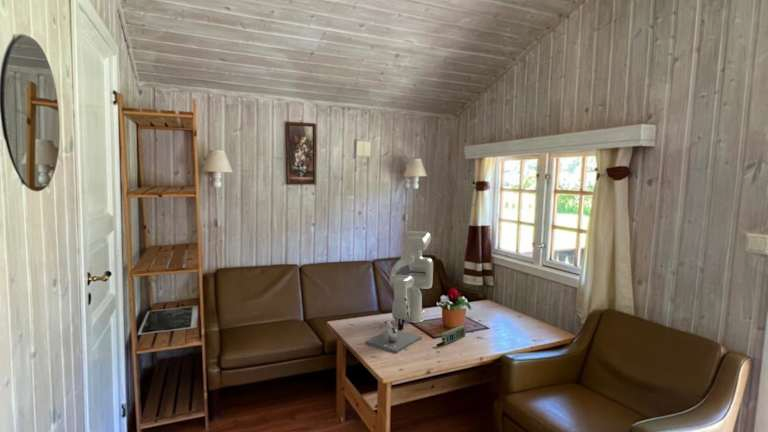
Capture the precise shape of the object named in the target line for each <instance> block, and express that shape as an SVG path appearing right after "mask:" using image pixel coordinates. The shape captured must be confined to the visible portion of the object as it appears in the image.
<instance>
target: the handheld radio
mask: <svg viewBox="0 0 768 432" xmlns="http://www.w3.org/2000/svg"><path fill="white" fill-rule="evenodd" d="M441 336H442V337H441V342H439V343H437V344H436V346H437V347H440V346H441V345H448V344H450V343H453V342H455V341H457V340H459V339H463V338H464V337H466V325H463V324H461V325H459V326H457V327H454V328H451V329H449V330H447V331H444V332H442V333H441Z"/></svg>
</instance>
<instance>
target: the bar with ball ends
mask: <svg viewBox="0 0 768 432" xmlns="http://www.w3.org/2000/svg"><path fill="white" fill-rule="evenodd" d="M384 324H385V326H386V328H387V330H388V341H389V342H392V343H393V342H397V330H398V327H394V326H393V325H392V323H391V321H390V319H386V320H385V321H384Z"/></svg>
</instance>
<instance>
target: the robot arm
mask: <svg viewBox="0 0 768 432" xmlns="http://www.w3.org/2000/svg"><path fill="white" fill-rule="evenodd" d="M403 237H404V240H403V244H402V250H401V254H400V256H401V257H400V259H399V260H397V261H396V262H395V263H394V265H393V266H392V268H391V272H390V277H389V284H390V286H391V287H393V290H394V291H393V292H394V293H393V299H394V300H393V302H392V308H391V309H392V310H391V316H392V319H394V320H395V321H396V324H397V330H400V331H404V323H407V322H408V323H413V324H415V323H417V324H418V323H419V324H420V323H422V322H424V321H425V318H424V317H423V315H424V314H425V310H423V311H422V309H423V305H422V304H423V303H422V302H423V301H422V299H423V296H422V295H423V294H422V291H421V289H426V290H427V289H429V290H430V289H431V288H432V287H433V281H434V277H433V276H434V261H433V259H432V258H431V257H425V256H423V251H426V250H427V248H428V246H429V245H430V243H431V242H432V241H431V240H432V235H431V233H429V232H428V231H420V230H419V231H418V230H409V231H408V230H407V231H406V232H405V233H404V235H403ZM406 266H408V269H409V270H410V271H413V273H412V272H411V273H409V274H406V275H405V274H397V273H398V271H399V270H400V269H402V268H404V267H406ZM417 272H419V273H417ZM420 272H421V273H420ZM422 272H423V273H422Z"/></svg>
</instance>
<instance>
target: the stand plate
mask: <svg viewBox="0 0 768 432" xmlns="http://www.w3.org/2000/svg"><path fill="white" fill-rule="evenodd" d="M422 338H423V336H422V335H419V334H415V333H412V332H407V331H404V330H401V331H400V330H398V329H397V342H393V343H392V342H389V341H388V329H387V330H385V331H384V332H381V333H378V334H377V335H375V336H373V337H371V338H369V339H367V340H365V341H364V342H365V343H364V344H365V345H368V346H371V347H375V348H378V349H380V350H384V351H387V352H391V353H394V354H398V353H401V352H402V351H403V350H405V349H406V348H408V347H410V346H411V345H413V344H415V343H417V342H419V341H420V340H421V339H422Z"/></svg>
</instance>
